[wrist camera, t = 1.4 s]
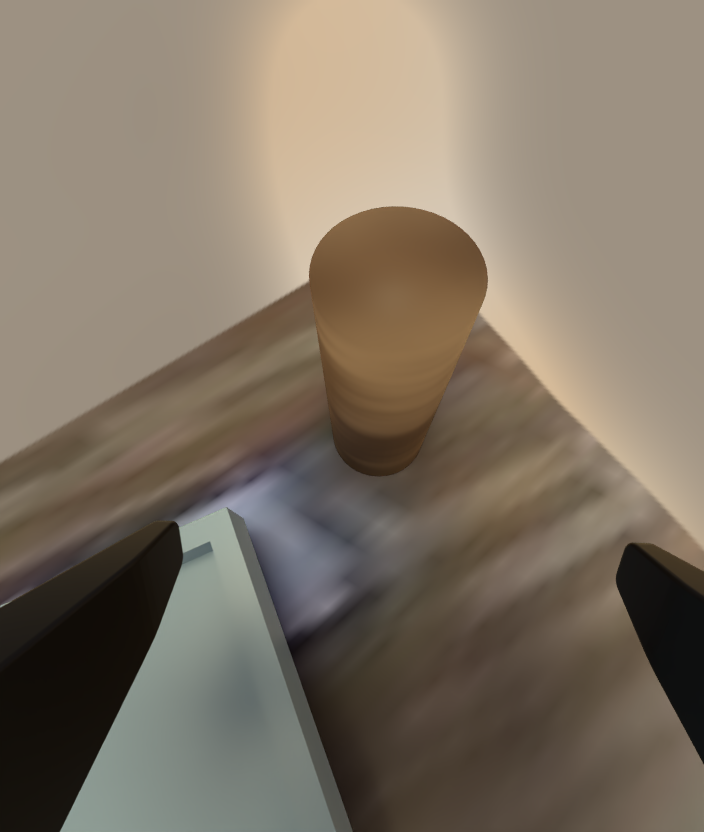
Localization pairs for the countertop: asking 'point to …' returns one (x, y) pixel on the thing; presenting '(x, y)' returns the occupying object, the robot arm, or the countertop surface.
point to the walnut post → (391, 327)
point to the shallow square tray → (213, 713)
